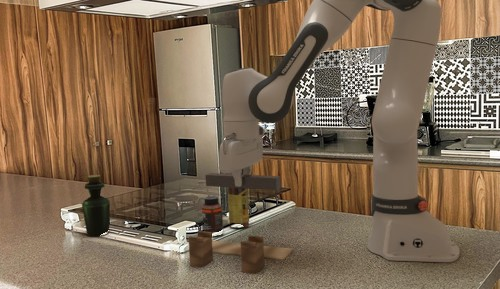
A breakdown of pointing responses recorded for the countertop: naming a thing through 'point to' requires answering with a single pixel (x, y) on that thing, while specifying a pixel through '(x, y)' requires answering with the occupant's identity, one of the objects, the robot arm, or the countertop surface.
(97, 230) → the potion bottle
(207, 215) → the supplement bottle
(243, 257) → the post
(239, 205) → the sauce bottle
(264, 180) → the rail
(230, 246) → the wooden plank
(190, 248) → the post
